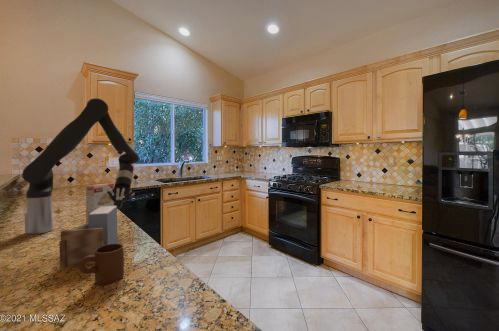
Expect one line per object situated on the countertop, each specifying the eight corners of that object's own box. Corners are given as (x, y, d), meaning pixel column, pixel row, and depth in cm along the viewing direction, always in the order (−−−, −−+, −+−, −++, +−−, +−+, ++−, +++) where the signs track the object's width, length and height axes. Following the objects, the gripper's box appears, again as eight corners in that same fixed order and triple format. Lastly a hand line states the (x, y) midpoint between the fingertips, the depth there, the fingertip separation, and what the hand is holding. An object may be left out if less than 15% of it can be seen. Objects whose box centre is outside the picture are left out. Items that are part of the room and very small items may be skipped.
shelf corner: (60, 268, 77) (59, 232, 76) (94, 236, 107) (94, 210, 107) (101, 263, 80) (100, 229, 80) (123, 233, 111) (123, 209, 110)
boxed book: (89, 258, 85) (88, 214, 84) (101, 244, 98) (100, 206, 97) (108, 256, 86) (107, 213, 86) (117, 242, 100) (116, 205, 99)
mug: (85, 296, 62) (85, 261, 61) (72, 287, 66) (71, 255, 65) (129, 276, 72) (128, 246, 72) (115, 270, 76) (114, 241, 75)
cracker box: (95, 224, 126) (94, 186, 125) (85, 223, 127) (84, 185, 126) (114, 217, 140) (114, 183, 139) (106, 217, 141) (105, 182, 140)
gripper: (108, 175, 120) (100, 203, 109) (136, 176, 124) (131, 203, 113) (111, 184, 126) (104, 212, 114) (138, 184, 129) (133, 211, 118)
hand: (117, 207), depth 114 cm, fingers closed
